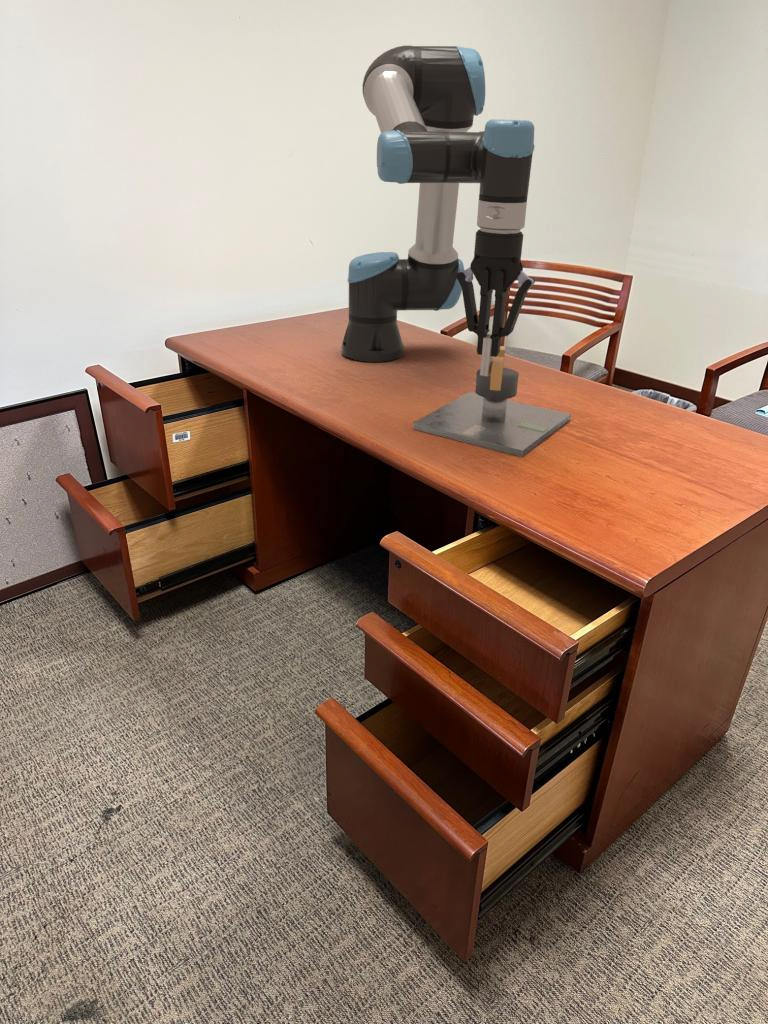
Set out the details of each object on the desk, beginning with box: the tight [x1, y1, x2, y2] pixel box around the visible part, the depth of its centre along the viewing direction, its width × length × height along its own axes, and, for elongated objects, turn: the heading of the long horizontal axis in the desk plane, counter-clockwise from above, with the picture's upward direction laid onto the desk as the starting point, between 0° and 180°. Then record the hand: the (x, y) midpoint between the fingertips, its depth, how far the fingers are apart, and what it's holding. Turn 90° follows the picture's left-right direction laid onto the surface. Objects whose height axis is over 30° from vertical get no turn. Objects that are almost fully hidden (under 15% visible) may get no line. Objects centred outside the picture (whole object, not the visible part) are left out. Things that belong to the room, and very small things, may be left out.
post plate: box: [412, 391, 572, 458], centre depth 138 cm, size 22×22×6 cm
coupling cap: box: [474, 345, 520, 400], centre depth 132 cm, size 14×8×8 cm, turn 170°
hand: (486, 373), depth 128 cm, fingers closed
